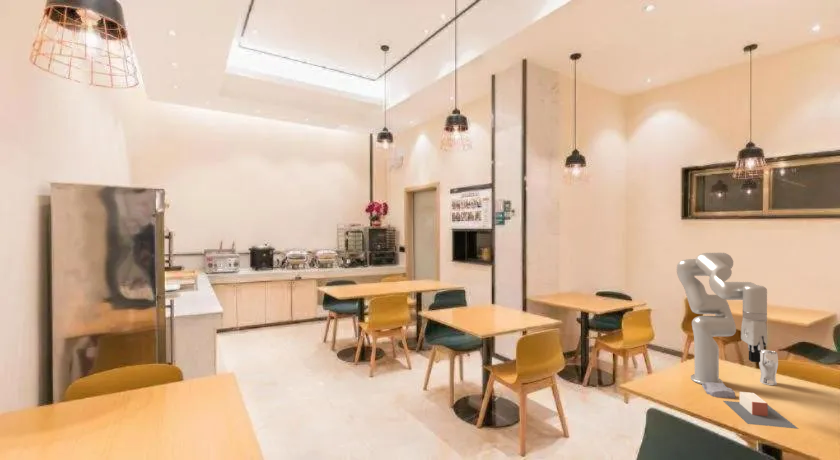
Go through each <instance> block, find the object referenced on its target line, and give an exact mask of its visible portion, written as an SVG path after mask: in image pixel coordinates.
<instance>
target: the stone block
mask: <svg viewBox="0 0 840 460" xmlns="http://www.w3.org/2000/svg"><path fill="white" fill-rule="evenodd" d="M701 387H702V388H703V390H704V391H705V393H706V394H707V395H710V396H711V397H713V398H726V399H727V398H728V399H736V392H735V390H733V388H730V387H727V386H726V385H725V383H724V382H723V383H722V384H719V383H714V382H707V383H704V384H701Z"/></svg>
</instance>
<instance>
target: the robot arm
mask: <svg viewBox="0 0 840 460" xmlns="http://www.w3.org/2000/svg"><path fill="white" fill-rule="evenodd" d="M733 267H734V259H733V257H732V256H731V255H730V254H729V253H727V252H703V253H700V254H698V255H697V256H696V257H695V258H688V259H687V258H686V259H682V260H680V261H679V262H678V263H677V264H676V275H677V278H678V280H679V282H680V283H681V285H682V287H683V289H684V291H685V294H686V298H687V302H688V305H689V308H690V310H691V312H692V313H694V314H697V315H698V316H696V317H694V318H693V319H692V320H691V326H692V327H691V329H692V333H693V344H694V345H693V346H694V347H693V348H694V374H691V375H690V380H691V381H692V382H695V383H696V384H700V385H702V384H704V383H707V382H714V383H719V384H722V383H723V384H724V381H723V380H722V379H721V378H720V374H719V373H720V371H719V370H720V367H719V364H720V363H719V361H720V360H719V358H720V357H719V356H720V354H719V353H720V352H719V344H718V343H717V341H716V340H715V339H714V337H732V336H734V335H735V334H736V332H737V326H736V322H735V319H734V316H733V312H732V310H731V307H730V305H729V303H728V301H738V300H739V301H742V321H741V327H740V328H741V329H740V340H741V341H742V342H744V343H746V344H747V350H748V361H749V362H752V363H759V362H760V353H761V350H762V351H764V350H765V349H764V348H765V347H767V345H768V328H767V321H768V289H767V288H766V287H765V286H764V285H761V284H760V285H759V284H755V283H754V282H751V281H728V280H729V279H730V278H731V276H732V274H733V273H732V269H733ZM696 276H697V277H709V279H708V283H709V287H710V289H711V291H712V292H713V293H714V294H708V293H707V291H706V288H705V285H704V284H703V283H702V282H701V281H700V280H699V279H698V278H696Z"/></svg>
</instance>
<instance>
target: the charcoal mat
mask: <svg viewBox="0 0 840 460" xmlns="http://www.w3.org/2000/svg"><path fill="white" fill-rule="evenodd" d="M722 402H723V403H725V405H727V406H728V407H729V408H730V409H731V410H732V411H733V413H735V414H736V415H737V416H738V417H739V418H741V419H742V420H743V421H744V422H745V423H746V424H747V425H757V426H767V427H775V428H776V427H777V428H785V429H787V428H789V429H797V430H798V429H799V427H797V425H795V424H793V423H792V422H791V421H790V420H788V419H787V418H785V417H784V416H783V415H782V414H780V413H779V412H778V411H776V409H774V408H773V407H771V406H770V405H768V416H761V415H752V414H751V413H750V412H749V411H748V410H747V409H745V408H744V407H743V406H742V405H741V404H740V401H731V400H730V401H729V400H722Z"/></svg>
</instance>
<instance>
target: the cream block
mask: <svg viewBox="0 0 840 460" xmlns="http://www.w3.org/2000/svg"><path fill="white" fill-rule="evenodd" d="M739 402H740V404H741V405H742V406H743V407H744V408H745V409H747V410H748V411H749V412H750V413H751V414H752V415H761V416H768V402H766V401H765V400H764V399H762V398H761V397H760V396H759V395H757V394H756V393H754V392H749V391H748V392H746V391H739Z"/></svg>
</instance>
